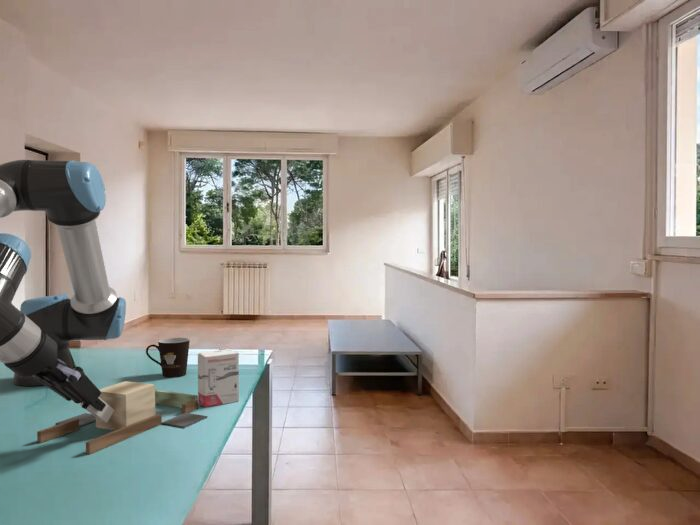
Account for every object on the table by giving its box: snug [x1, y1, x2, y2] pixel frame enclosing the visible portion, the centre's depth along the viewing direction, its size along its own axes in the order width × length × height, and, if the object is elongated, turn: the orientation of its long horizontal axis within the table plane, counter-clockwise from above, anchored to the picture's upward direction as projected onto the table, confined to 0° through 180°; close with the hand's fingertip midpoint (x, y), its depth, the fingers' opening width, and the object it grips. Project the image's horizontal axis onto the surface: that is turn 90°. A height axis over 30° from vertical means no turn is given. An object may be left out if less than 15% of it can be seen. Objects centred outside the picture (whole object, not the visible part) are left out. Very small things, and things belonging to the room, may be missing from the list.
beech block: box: [95, 380, 156, 431], centre depth 107 cm, size 8×8×8 cm
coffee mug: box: [145, 337, 191, 379], centre depth 148 cm, size 12×9×10 cm
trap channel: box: [36, 388, 208, 455], centre depth 106 cm, size 26×28×3 cm
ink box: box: [197, 348, 240, 408], centre depth 121 cm, size 9×5×12 cm, turn 124°
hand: (108, 415), depth 101 cm, fingers closed
